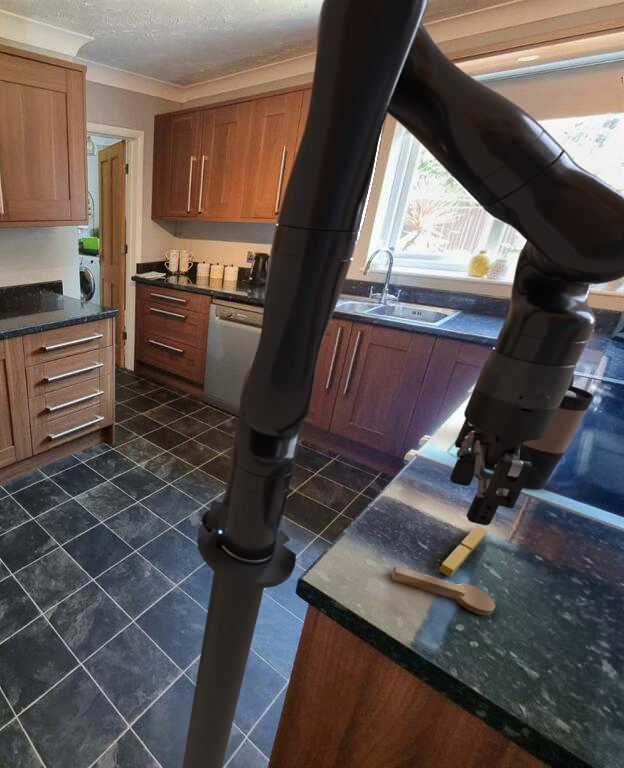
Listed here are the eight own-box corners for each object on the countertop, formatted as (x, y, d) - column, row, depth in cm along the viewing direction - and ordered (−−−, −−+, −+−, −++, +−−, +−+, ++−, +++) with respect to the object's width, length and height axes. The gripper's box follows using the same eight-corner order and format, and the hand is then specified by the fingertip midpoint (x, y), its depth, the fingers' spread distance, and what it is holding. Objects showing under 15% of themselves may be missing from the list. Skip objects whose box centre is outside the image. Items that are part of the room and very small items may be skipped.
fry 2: (468, 555, 67) (472, 548, 67) (457, 549, 68) (461, 542, 68) (484, 537, 71) (487, 530, 70) (473, 531, 72) (476, 525, 71)
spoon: (394, 587, 61) (397, 579, 61) (390, 565, 65) (393, 558, 64) (497, 620, 57) (502, 612, 56) (486, 595, 60) (491, 587, 60)
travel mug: (537, 495, 81) (587, 402, 73) (489, 474, 87) (530, 386, 79) (551, 482, 85) (600, 393, 77) (504, 463, 91) (544, 378, 83)
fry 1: (450, 577, 63) (453, 570, 63) (438, 570, 64) (441, 563, 64) (467, 557, 67) (471, 550, 66) (456, 551, 68) (459, 544, 67)
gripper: (461, 365, 57) (423, 466, 63) (497, 409, 45) (445, 527, 52) (533, 375, 54) (485, 479, 61) (591, 425, 42) (524, 547, 49)
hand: (467, 501), depth 56 cm, fingers open, 8 cm apart
